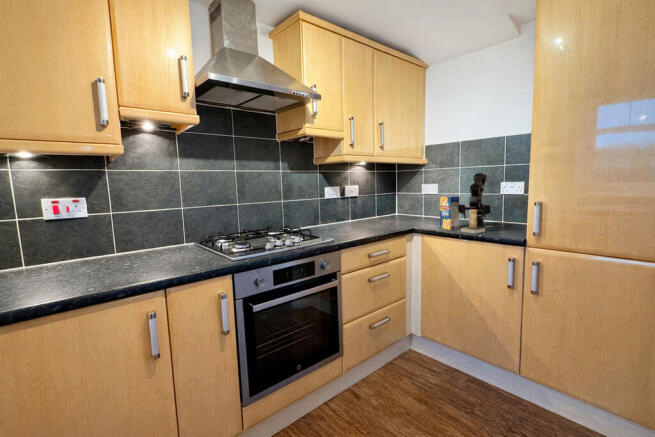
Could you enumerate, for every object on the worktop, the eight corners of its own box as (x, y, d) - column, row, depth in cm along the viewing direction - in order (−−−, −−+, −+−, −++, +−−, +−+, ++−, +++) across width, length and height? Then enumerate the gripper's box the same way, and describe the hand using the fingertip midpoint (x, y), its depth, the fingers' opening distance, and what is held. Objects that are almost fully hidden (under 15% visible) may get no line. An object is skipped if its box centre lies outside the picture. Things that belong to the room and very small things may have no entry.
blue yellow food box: (450, 230, 201) (450, 196, 199) (439, 227, 212) (440, 196, 209) (459, 229, 203) (459, 196, 201) (448, 227, 214) (448, 195, 211)
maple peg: (467, 231, 195) (467, 209, 194) (473, 230, 196) (474, 209, 194) (471, 232, 191) (472, 210, 189) (478, 231, 192) (478, 209, 190)
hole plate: (460, 231, 195) (460, 228, 195) (470, 229, 200) (470, 226, 200) (474, 233, 187) (474, 230, 186) (485, 231, 191) (485, 228, 191)
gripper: (458, 192, 199) (455, 210, 191) (491, 191, 189) (489, 211, 181) (460, 203, 206) (457, 221, 198) (491, 203, 197) (489, 222, 189)
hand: (472, 219), depth 191 cm, fingers open, 9 cm apart
